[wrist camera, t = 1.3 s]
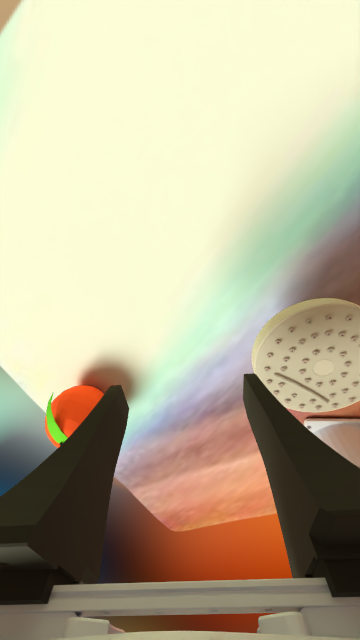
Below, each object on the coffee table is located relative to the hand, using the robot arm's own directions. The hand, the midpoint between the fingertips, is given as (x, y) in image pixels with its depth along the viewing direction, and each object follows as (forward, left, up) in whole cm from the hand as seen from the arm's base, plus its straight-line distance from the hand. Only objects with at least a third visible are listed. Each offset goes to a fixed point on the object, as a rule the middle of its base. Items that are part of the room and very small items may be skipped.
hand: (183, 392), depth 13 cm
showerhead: (-1, -10, -11) cm, 15 cm away
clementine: (-9, +14, -11) cm, 20 cm away
